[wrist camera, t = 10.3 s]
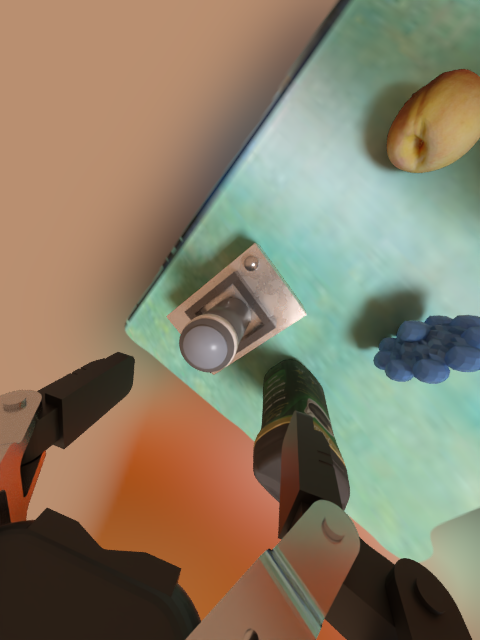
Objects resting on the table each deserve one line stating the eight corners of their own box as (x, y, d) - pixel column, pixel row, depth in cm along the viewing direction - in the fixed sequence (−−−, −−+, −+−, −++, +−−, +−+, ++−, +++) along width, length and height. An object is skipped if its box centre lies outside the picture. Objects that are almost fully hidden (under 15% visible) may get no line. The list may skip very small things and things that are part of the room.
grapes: (423, 282, 30) (507, 298, 19) (452, 319, 31) (551, 356, 20) (348, 333, 34) (380, 372, 23) (375, 366, 35) (420, 419, 23)
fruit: (369, 130, 27) (402, 80, 20) (448, 93, 25) (520, 23, 17) (381, 195, 29) (416, 172, 21) (457, 166, 26) (527, 129, 19)
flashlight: (210, 298, 30) (170, 321, 20) (249, 294, 29) (229, 316, 18) (216, 335, 32) (182, 376, 21) (254, 332, 30) (238, 374, 20)
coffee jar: (256, 377, 39) (234, 476, 21) (291, 350, 36) (299, 437, 19) (293, 416, 40) (301, 543, 22) (331, 392, 37) (373, 514, 20)
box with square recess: (259, 245, 33) (252, 242, 25) (302, 305, 34) (308, 318, 27) (183, 307, 38) (159, 320, 30) (223, 357, 39) (209, 382, 31)
